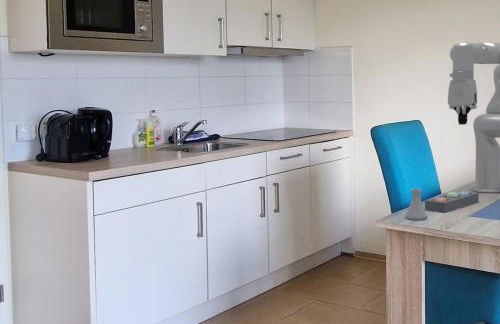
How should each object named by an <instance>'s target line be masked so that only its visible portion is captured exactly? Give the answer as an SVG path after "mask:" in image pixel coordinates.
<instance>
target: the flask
mask: <svg viewBox="0 0 500 324" xmlns="http://www.w3.org/2000/svg"><path fill="white" fill-rule="evenodd" d="M410 191H411V200H410V202H409V206H408V208H407V212H406V214H405V218H406V219H407V220H413V221H415V220H416V221H418V220H419V221H420V220H427V218H428V215H427V213H426V210H425V207H424V206H423V202H422V198H421V191H422V189H421V188H411V190H410Z"/></svg>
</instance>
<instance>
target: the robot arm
mask: <svg viewBox="0 0 500 324" xmlns="http://www.w3.org/2000/svg"><path fill="white" fill-rule="evenodd" d="M449 57H450V60H451V61H452V72H451V73H449V77H450V78H451V79H452V80H451V79H450V81H449V86H448V93H447V104H448V108H449V109H451V110H454V112H456V114H457V122H458V125H463V126H464V125H467V122H468V114H469V113H470V112H471V110H475V109H477V107H478V105H477V104H478V88H477V82H476V80H475V79H474V75H475V74H474V73H475V72H474V65H475V64H476V65H492V64H493V65H495V68H494V69H493V84H494V89H495V90H494V93H493V95H492V97H491V98H490V100H489V102H488V103H487V106H486V109H485V113H483V114H479V115H477V116H476V117H475V119H474V120H473V125H472V126H473V133H474V139H475V140H474V141H475V181H474V182H475V184H474V186H473V185H472V186H471V188H470V189H471V191H473V192H475V193H483V194H484V193H486V194H487V193H489V194H491V193H495V194H496V193H500V143H499V142H498V141H497V138H498V139H500V42H458V43H455V44H453V46H452V47H451V49H450V51H449Z"/></svg>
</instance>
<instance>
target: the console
mask: <svg viewBox="0 0 500 324" xmlns="http://www.w3.org/2000/svg"><path fill="white" fill-rule="evenodd" d="M460 191H461V190H457V191H456V192H460ZM468 192H469V194H468V195H461V194H458V198H448V197H447V193H445V194H442V195H439V196H436V197H432V198H429V199H425V200H424V210H425V211H429V210H430V211H431V212H436V211H437V213H443V212H444V213H445V212H446V213H449V212H453V211H455V210H458V208H459V209H462V208H465V207H468V206H471V205H474V204H478V203H479V195H480V194H479V193H480V192H474V191H473V192H471V191H468ZM435 198H446V199H447V201H444V202H441V201H435ZM448 211H449V212H448Z"/></svg>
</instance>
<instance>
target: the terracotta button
mask: <svg viewBox="0 0 500 324" xmlns="http://www.w3.org/2000/svg"><path fill="white" fill-rule="evenodd" d="M434 198H435V197H434ZM435 201H441V202H444V201H447V199H446V198H435Z"/></svg>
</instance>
